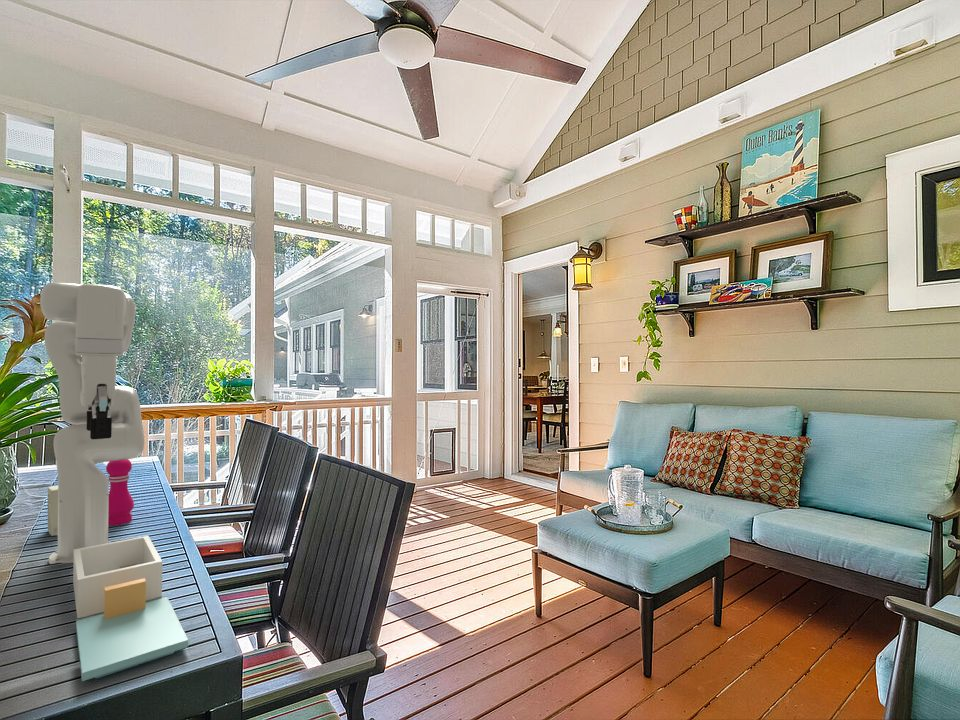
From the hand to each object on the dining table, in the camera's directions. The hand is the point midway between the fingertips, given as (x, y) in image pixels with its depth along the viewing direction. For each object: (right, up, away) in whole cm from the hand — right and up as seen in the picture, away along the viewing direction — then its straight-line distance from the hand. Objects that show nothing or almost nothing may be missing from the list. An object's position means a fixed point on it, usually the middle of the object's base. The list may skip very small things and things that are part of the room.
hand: (98, 434), depth 99 cm
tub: (+2, -33, +2) cm, 33 cm away
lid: (+17, -34, -15) cm, 40 cm away
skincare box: (-38, -32, +36) cm, 62 cm away
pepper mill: (-28, -32, +45) cm, 62 cm away
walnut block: (+1, -32, +7) cm, 32 cm away
